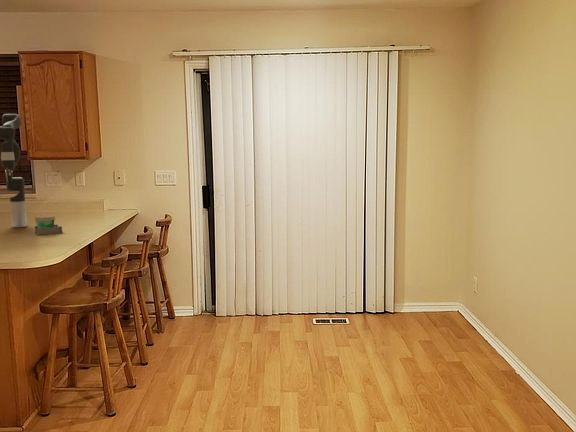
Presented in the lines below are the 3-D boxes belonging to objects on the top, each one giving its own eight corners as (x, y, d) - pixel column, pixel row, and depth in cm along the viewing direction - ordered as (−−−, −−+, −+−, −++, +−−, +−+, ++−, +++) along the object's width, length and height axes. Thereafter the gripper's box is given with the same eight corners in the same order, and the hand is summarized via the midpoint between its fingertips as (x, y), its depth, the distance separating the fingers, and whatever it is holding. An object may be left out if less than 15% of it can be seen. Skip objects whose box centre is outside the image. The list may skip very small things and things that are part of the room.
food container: (33, 234, 371) (32, 218, 370) (35, 232, 377) (34, 216, 376) (53, 233, 373) (52, 217, 372) (56, 231, 379) (55, 216, 378)
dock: (35, 232, 378) (34, 226, 378) (59, 230, 385) (58, 224, 385) (37, 234, 368) (37, 228, 367) (62, 232, 375) (61, 226, 374)
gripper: (15, 159, 367) (17, 187, 369) (13, 158, 378) (15, 186, 381) (2, 159, 363) (4, 188, 366) (0, 159, 375) (2, 186, 377)
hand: (9, 187), depth 373 cm, fingers closed
